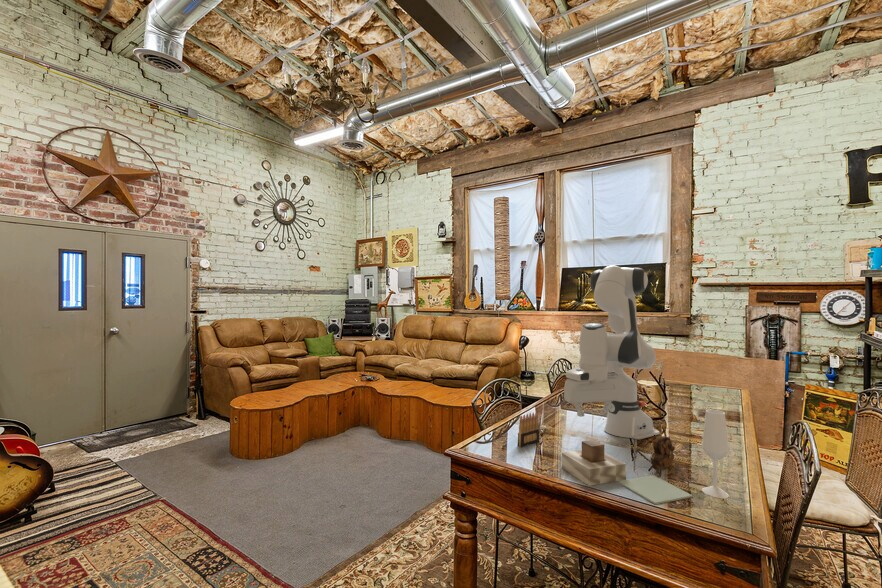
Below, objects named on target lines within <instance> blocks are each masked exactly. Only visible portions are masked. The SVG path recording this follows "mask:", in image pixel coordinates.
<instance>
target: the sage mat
mask: <svg viewBox="0 0 882 588" xmlns="http://www.w3.org/2000/svg"><path fill="white" fill-rule="evenodd" d="M617 483H618V484H619V485H621V486H622V487H625V488H627V489H628V490H629V491H631V492H633V493H634V494H637V495H638V496H640V497H642V498H643V499H645V501H648V502H650V503H652V504H653V505H658V504H659V505H660V504H663V503H670V502H674V501H681V500H685V499H690V498H693V494H691V493H689V492H687V491H685V490H683V489H681V488H679V487H677V486H675V485H673V484H671V483H669V482H667V481H665V480H663V479H662V478H660V477H658V476H656V475H654V474H653V475H648V476H647V475H646V476H641V477H634V478H628V479H626V480H621V481H617Z"/></svg>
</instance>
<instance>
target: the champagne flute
mask: <svg viewBox="0 0 882 588" xmlns="http://www.w3.org/2000/svg"><path fill="white" fill-rule="evenodd" d="M704 416H705V417H704V426H703V433H702V434H703V435H702V440H701V441H702V443H701V448H702V450H703V452H704V453H705V454H706V456H708V457H709V458H710V459H711V460H712V485H710V486H705V487H703V488H701V491H702V492H703V493H704V494H706V496H707V495H708V496H710V497H713V498H717V499H727V498H729V497H730V495H729V493H727V492H726V491H725V490H723V489H722V488H720V487H719V486H718V481H719V480H718V478H719V477H718V474H719V473H718V470H719V468H718V461H721V460H722V459H724V458H725V457H727V455H728V454H729V453H730V449H729V448H730V447H729V438H728V428H727V420H726V412H725V411H722V410H718V409H706V410H705V415H704Z"/></svg>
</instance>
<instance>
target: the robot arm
mask: <svg viewBox="0 0 882 588" xmlns="http://www.w3.org/2000/svg"><path fill="white" fill-rule="evenodd" d="M648 278H649V277H648V275H647V272H646V270H645V269H643V268H642V267H641V268H640V267H621V266H617V265H614V264H613V265H607V266H605V267H604V268H603V269H597V270H593V272H592V273H591V274H590V276H589V286H590V290H591V291H592V292H593V300H594V302H595V304H596V306H597V307H598V308H599V309H600V310H601V311H604V312H605V313H608V314H607V317H608V327H609V328H610V330H611V331H612V332H607V326H606V325H605V324H603V323H600V322H590V323H588V322H587V323H585V324H583V325H582V326H581V330H580V335H579V354H580V358H579V362H578V363H579V364H578V366H576V367H574V368H572V369H569V370H566V372H565V377H566V378H567V379H565V382H564V388H563V389H564V390H563V399H564V400H565V402H566V403H568V404H571V405H573V406H574V407H575V409H576V411H577V412H576V415H577V416H578V417H579V418H581V417H585V410H583V409H582V406H583V404H585V403H586V404H587V403H601V402H603V403H604V405H603V407H601V408H600V414H601V415H607V416H606V423H605V427H604V431H605V432H606V434H609V435H611V436H612V435H613V436H616V437H621V438H628V439H634V440H643V439H646V438H650V437H654V435H655V436H657V435H658V436H659V435H660V431H659V430H658V429H656V428H654V422H653V419H652V418H651V417H650V416H649V415H648V414H647V413H645V412H644V411H643V409H641V407H645V401H642V400H637V399H638V384H637V381H636V380H635V379H634V378H632V377H631V376H629V375H628V374H627V373H626V372H625V371H624V368H627V369H634V370H644V369H645V370H646V369H651V368H652V367H653V366H654V365H655V363H656V361H657V354H656V351H655V349H654V347H653V346H651V345H650V344H649V343H647V341H645V340H644V338H643V337H642V335H641V333H640V331H639V327H638V320H637V317H638V316H637V300H636V297H637V296H639V294H642V293H643V292H645V290H646V289H647V286H648V283H649V279H648ZM640 406H641V407H640Z"/></svg>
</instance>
